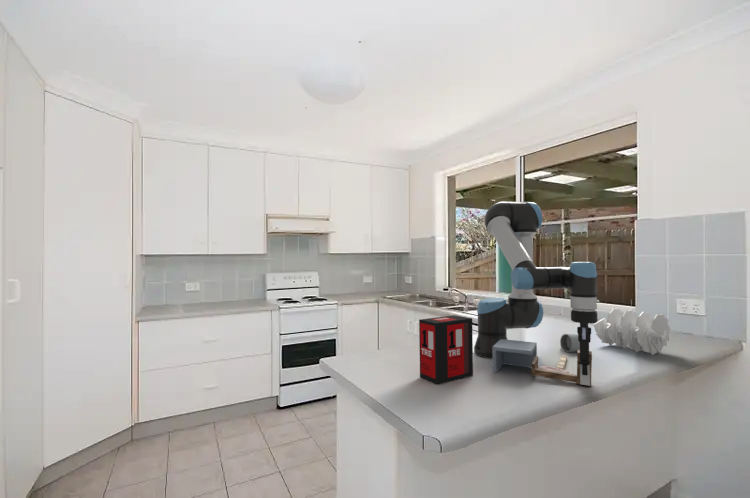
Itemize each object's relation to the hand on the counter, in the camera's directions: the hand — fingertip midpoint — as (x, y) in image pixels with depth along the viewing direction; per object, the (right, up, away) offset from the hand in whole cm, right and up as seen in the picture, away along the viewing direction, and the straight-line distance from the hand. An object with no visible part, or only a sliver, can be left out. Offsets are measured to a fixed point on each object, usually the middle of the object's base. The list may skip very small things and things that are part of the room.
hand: (585, 382), depth 122 cm
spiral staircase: (+45, -1, +43) cm, 62 cm away
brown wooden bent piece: (-5, 0, +7) cm, 8 cm away
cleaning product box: (-43, -2, +10) cm, 44 cm away
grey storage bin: (-16, -1, +16) cm, 23 cm away
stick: (+3, -2, +21) cm, 21 cm away
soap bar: (-5, -2, +10) cm, 12 cm away
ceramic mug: (+18, -2, +43) cm, 47 cm away
